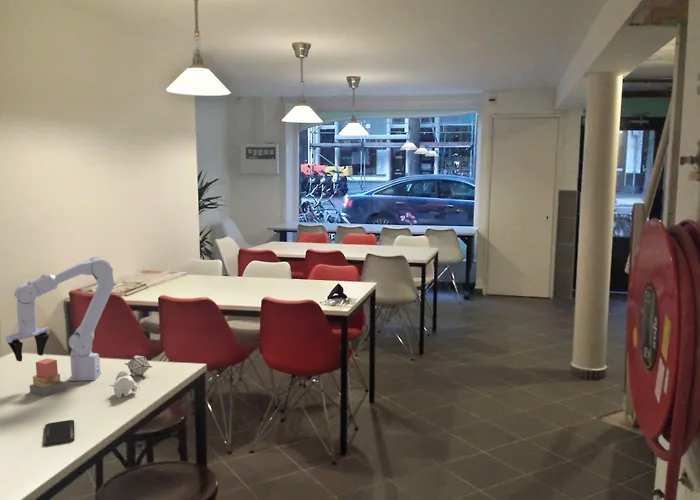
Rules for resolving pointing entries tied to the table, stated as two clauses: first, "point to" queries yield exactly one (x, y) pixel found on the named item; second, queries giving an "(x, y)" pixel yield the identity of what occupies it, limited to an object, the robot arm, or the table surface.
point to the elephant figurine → (124, 385)
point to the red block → (46, 368)
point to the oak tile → (46, 381)
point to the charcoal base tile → (48, 389)
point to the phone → (59, 433)
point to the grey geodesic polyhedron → (138, 365)
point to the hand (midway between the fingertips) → (29, 357)
